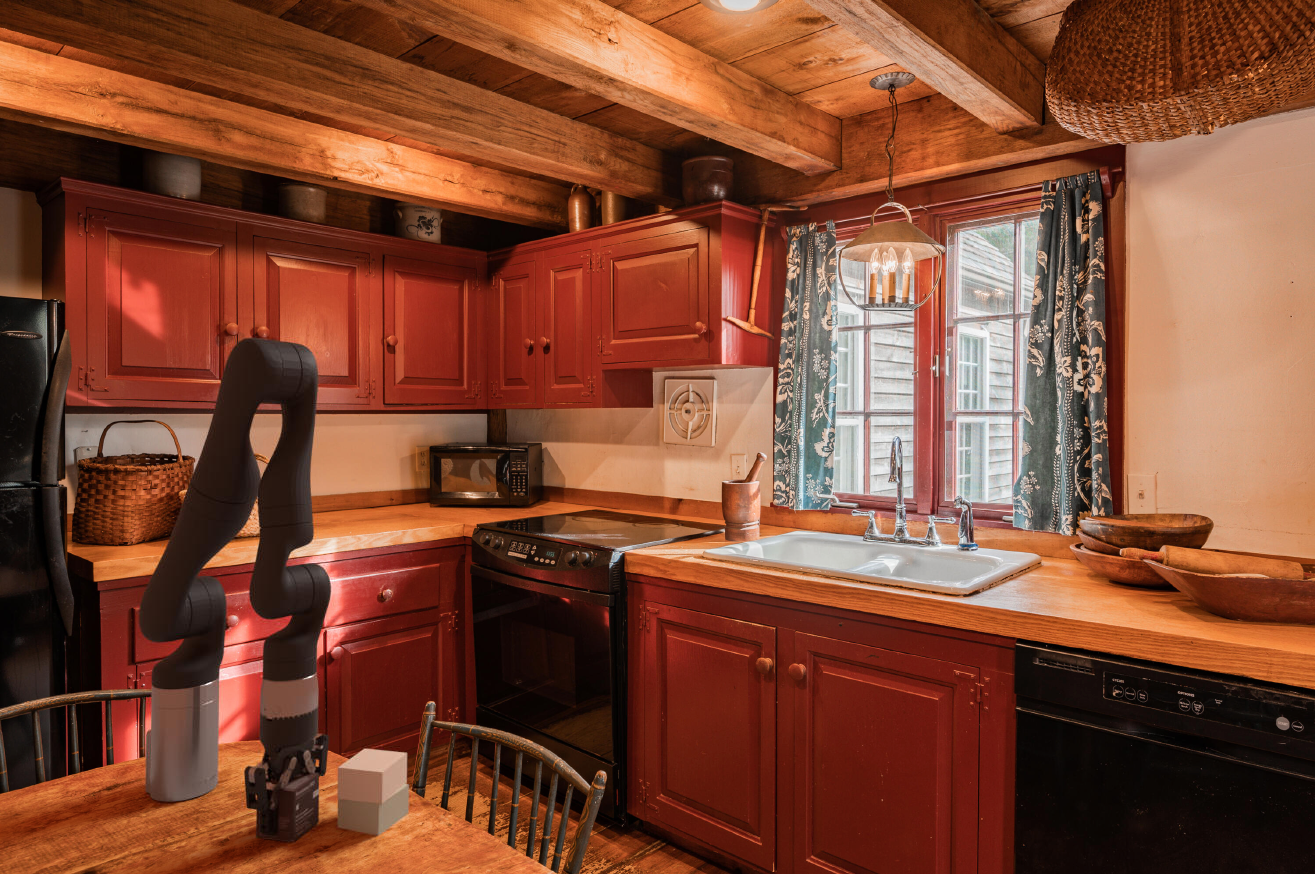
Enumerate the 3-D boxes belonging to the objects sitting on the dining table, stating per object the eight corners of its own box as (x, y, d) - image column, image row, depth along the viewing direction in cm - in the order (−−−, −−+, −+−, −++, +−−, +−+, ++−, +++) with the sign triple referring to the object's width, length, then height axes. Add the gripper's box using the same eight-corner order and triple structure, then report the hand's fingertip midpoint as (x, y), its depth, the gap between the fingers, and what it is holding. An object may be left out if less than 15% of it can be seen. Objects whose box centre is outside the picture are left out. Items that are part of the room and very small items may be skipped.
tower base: (337, 827, 115) (338, 796, 115) (369, 806, 122) (369, 777, 122) (378, 836, 113) (379, 804, 113) (408, 814, 119) (408, 784, 119)
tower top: (337, 798, 114) (337, 767, 114) (364, 777, 121) (364, 748, 121) (382, 803, 113) (382, 772, 113) (406, 782, 120) (407, 752, 120)
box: (292, 843, 110) (293, 790, 110) (254, 838, 111) (255, 786, 111) (319, 822, 116) (320, 772, 116) (283, 817, 117) (284, 768, 117)
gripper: (304, 687, 121) (302, 796, 122) (227, 719, 108) (225, 842, 108) (345, 692, 119) (343, 804, 119) (272, 726, 105) (270, 852, 106)
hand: (287, 821), depth 114 cm, fingers closed on box, 6 cm apart
